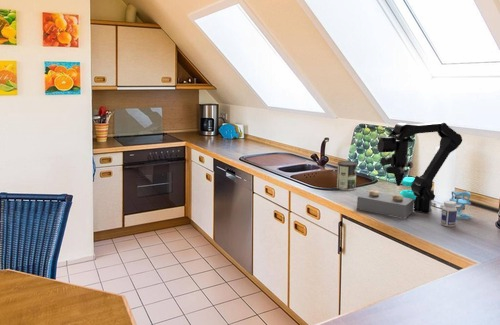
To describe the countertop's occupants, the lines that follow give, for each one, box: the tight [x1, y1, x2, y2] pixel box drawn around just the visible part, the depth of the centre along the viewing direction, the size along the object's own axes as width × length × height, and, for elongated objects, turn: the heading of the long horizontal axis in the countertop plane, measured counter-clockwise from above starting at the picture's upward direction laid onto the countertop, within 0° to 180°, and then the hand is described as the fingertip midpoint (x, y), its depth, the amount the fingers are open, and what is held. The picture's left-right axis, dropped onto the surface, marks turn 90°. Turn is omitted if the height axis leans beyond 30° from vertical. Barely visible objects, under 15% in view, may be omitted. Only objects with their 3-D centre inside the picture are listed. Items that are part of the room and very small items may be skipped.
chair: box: [449, 190, 472, 220], centre depth 192 cm, size 8×8×12 cm
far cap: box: [368, 189, 380, 197], centre depth 202 cm, size 4×4×7 cm
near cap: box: [392, 193, 403, 201], centre depth 196 cm, size 4×4×7 cm
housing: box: [356, 190, 414, 219], centre depth 199 cm, size 22×12×6 cm, turn 53°
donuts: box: [399, 176, 417, 200], centre depth 219 cm, size 10×10×10 cm
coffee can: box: [336, 160, 358, 191], centre depth 237 cm, size 10×10×14 cm
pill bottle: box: [440, 200, 458, 228], centre depth 181 cm, size 6×6×10 cm
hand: (398, 185), depth 195 cm, fingers closed
